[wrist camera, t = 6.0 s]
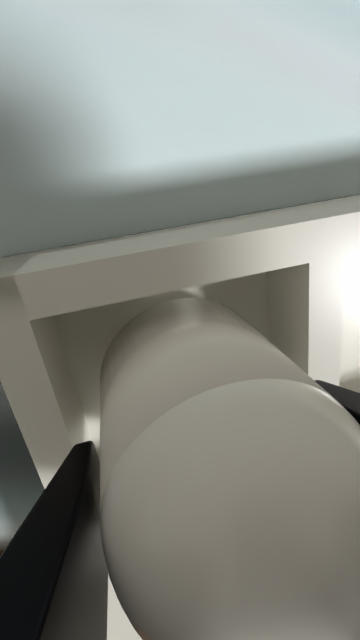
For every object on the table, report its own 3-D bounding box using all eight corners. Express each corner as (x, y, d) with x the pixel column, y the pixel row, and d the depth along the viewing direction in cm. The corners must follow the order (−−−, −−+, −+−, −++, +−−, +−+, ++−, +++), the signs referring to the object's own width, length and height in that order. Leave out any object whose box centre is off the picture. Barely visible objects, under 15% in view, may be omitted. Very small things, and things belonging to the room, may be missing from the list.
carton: (402, 583, 21) (549, 772, 14) (149, 681, 18) (180, 969, 12) (480, 173, 12) (1003, 149, 5) (0, 257, 9) (-262, 438, 3)
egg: (264, 421, 11) (463, 699, 5) (119, 461, 11) (148, 844, 4) (256, 282, 10) (557, 456, 3) (80, 319, 9) (31, 636, 3)
